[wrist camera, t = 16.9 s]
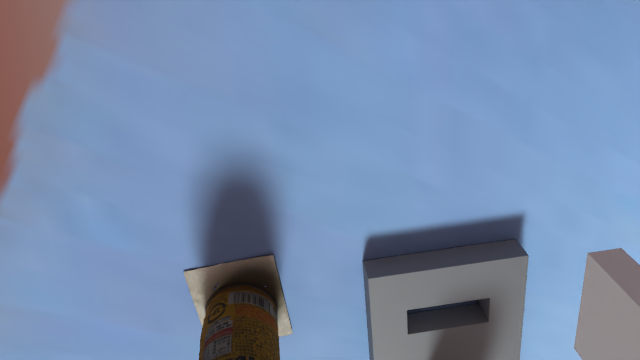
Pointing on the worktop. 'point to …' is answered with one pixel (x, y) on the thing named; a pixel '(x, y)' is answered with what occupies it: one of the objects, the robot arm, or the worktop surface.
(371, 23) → the worktop surface
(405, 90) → the worktop surface
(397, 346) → the socket plate
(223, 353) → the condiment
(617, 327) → the robot arm
